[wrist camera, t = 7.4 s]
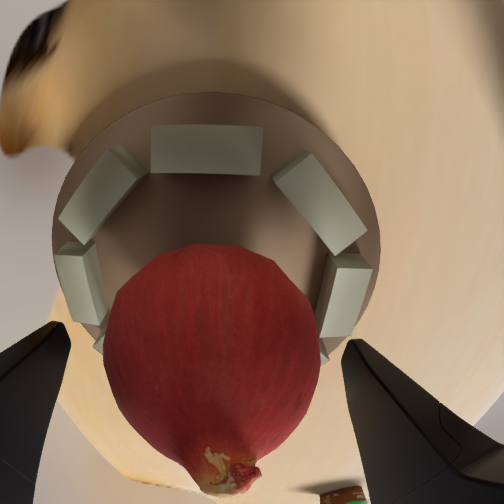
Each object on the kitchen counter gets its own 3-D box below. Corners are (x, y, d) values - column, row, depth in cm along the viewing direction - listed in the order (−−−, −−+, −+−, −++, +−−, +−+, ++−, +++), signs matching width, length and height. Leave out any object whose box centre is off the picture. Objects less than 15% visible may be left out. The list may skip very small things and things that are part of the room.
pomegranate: (271, 340, 12) (325, 508, 5) (141, 339, 11) (116, 516, 4) (292, 214, 10) (443, 386, 3) (129, 207, 9) (-4, 395, 2)
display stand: (385, 119, 10) (428, 124, 7) (327, 364, 16) (340, 405, 13) (62, 110, 9) (17, 114, 6) (104, 353, 15) (88, 391, 12)
